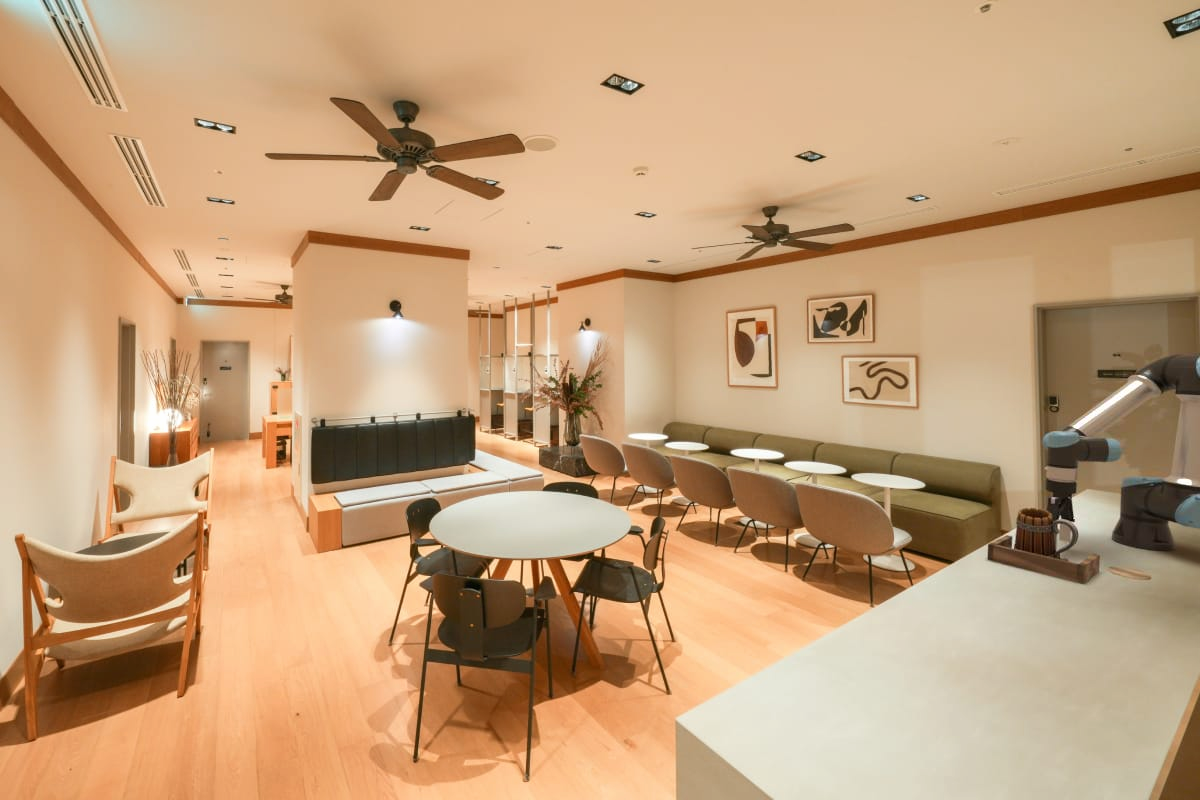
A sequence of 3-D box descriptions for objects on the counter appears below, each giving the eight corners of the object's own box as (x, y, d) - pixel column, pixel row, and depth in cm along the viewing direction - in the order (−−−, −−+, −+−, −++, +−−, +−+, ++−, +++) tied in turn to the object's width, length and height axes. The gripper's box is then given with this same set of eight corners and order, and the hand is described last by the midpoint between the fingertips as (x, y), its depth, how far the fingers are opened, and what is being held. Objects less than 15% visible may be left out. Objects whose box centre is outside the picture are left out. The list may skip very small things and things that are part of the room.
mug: (1007, 557, 169) (1006, 513, 166) (1023, 546, 174) (1023, 503, 171) (1068, 576, 156) (1069, 528, 153) (1084, 563, 161) (1085, 516, 158)
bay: (1006, 549, 177) (1006, 535, 177) (1099, 571, 158) (1099, 554, 158) (987, 559, 168) (988, 544, 168) (1083, 583, 149) (1084, 566, 149)
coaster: (1112, 566, 163) (1112, 564, 163) (1154, 576, 155) (1154, 573, 155) (1104, 573, 157) (1104, 570, 157) (1147, 583, 150) (1147, 580, 150)
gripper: (1059, 473, 180) (1055, 534, 182) (1032, 482, 166) (1029, 549, 168) (1088, 477, 174) (1084, 540, 176) (1063, 487, 160) (1059, 556, 161)
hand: (1057, 545), depth 172 cm, fingers open, 13 cm apart
